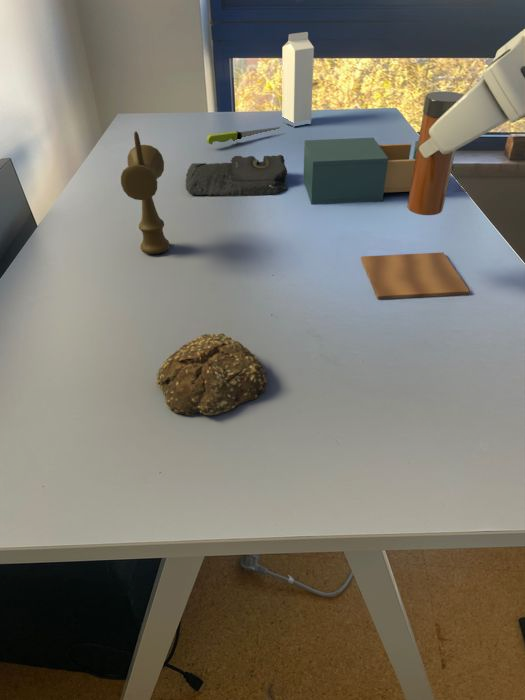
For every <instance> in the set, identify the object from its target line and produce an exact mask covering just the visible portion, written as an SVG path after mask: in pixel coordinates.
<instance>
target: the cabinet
mask: <svg viewBox="0 0 525 700" xmlns="http://www.w3.org/2000/svg"><path fill="white" fill-rule="evenodd" d="M379 145H380V144H379V143H378V142H377V141H376V139H375V138H374V137H353V138H328V139H304V148H303V149H304V150H303V151H304V152H303V177H302V181H303V180H304V181H303V183H304V186H305V190H306V193H307V196H308V199H309V202H310V204H311V205H324V204H327V205H328V204H347V203H348V204H349V203H369V202H371V203H372V202H383V200H384V194H385V193H384V187H385V179H386V172H387V165H388V157H387V156H386V154H385V153H384V152H383V150H382V149H381V148H380V146H379Z"/></svg>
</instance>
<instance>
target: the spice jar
mask: <svg viewBox="0 0 525 700" xmlns="http://www.w3.org/2000/svg"><path fill="white" fill-rule="evenodd" d="M464 95H465V93H464V94H463V93H461V92H454V91H445V90H444V91H443V90H442V91H431V92H428V93H426V94H425V95H424V102H423V107H422V118H421V124H420V130H419V135H418V140H417V141H418V146H417V152H416V158H415V164H414V170H413V176H412V181H411V187H410V191H409V194H408V199H407V207H406V208H407V210H408V211H410V212H411V213H414V214H416V215H421V216H436V215H439V214H441V213H443V211H444V205H445V201H446V197H447V191H448V187H449V182H450V180H451V179H450V178H451V174H452V170H453V169H452V165H453V164H454V159H455V156H456V151H457V150H455V151H453V152H450V153H448V154H442V153H441V152H440V151H439V150H438V151H436V152H435V153H434V154H432V155H431V156H429V157H428V158H425V157H423V155H422V154H421V152H420V150H419V147H420V146H421V145H422V144H423V143H425V142H426V141H427V140H429V139H430V138H431V136H430V134H429V129H430V128H431V127H432V125H433V124H434V123H435V122H436V121H437V120H438V119H439V118H440V117H441V116H442V115H443V114H444V113H445V112H446V111H447V110H448V109H450V108H451V107H452V106H453V105H454V104H455V103H456V102H457V101H458V100H459V99H460V98H461V97H462V96H464ZM453 166H454V165H453ZM451 169H452V170H451Z"/></svg>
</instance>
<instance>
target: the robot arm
mask: <svg viewBox="0 0 525 700" xmlns="http://www.w3.org/2000/svg"><path fill="white" fill-rule="evenodd" d="M523 118H525V28H523V30H521V31H520V32H519V33H517V34H516V35H515V36H513V37H512V38H511V39H510V40H509V41H507V42H506V43H505V44H504V45H503V46H501V47H500V48H499V49H498V50H497V51H496V53H495V57H494V58H493V60H492V62H491V63H490V64H489V65H488V66H487V67H485V69H484V70H483V71H482V72H481V78H480V79H479V81H477V82H476V83H475V84H474V85H473V86H472V87H471V88H470V89H469V90H468V91H467V92H465V93H464V96H462V97H461V98H460V99H459V100H458V101H457V102H456V103H455V104H454V105H453V106H452V107H451V108H450V109H448V110H447V111H446V112H445V113H444V114H443V115H442V116H441V117H440V118H439V119H438V120H437V121H436V122H435V123H434V124H433V125H432V127H431V128H430V129H429V134H430V136H431V138H430V139H429V140H427V141H426V142H425V143H423V144H422V145H421V146H420V147H419V150H420V152H421V154H422V155H423V157H425V158H428V157H429V156H431V155H432V154H434V153H435V152H436V151H438V150H439V151H440V152H441V153H442V154H448V153H450V152H453V151H455V150H456V151H457V150H459V149H460V148H462V147H464V146H466V145H468V144H469V143H471V142H473V141H475V140H477V139H478V138H480V137H482V136H484V135H486V134H487V133H489V132H491V131H493V130H494V129H497V128H498V127H500V126H502V125H504V124H506V123H507V122H508V121H509V122H510V123H512V124H513V123H516V122H518V121H520V120H521V119H523ZM456 151H455V152H456Z"/></svg>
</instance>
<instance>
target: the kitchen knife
mask: <svg viewBox="0 0 525 700" xmlns="http://www.w3.org/2000/svg"><path fill="white" fill-rule="evenodd" d="M280 128H281V126H276V127H270V128H262V129H261V128H260V129H252V130H244V131H238V130H237V131H227V132H221V133H220V132H219V133H212V134H208V135H207V136H206V143H207V144H209V145H213V144H214V143H215V142H218V143H225V142H228V141H230V140H231V141H232V140H233V141H235V140H237V139H241V138H242V137H246V136H251V135H254V134H258V133H262V132H267V131H271V130H276V129H279V130H280Z"/></svg>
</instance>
